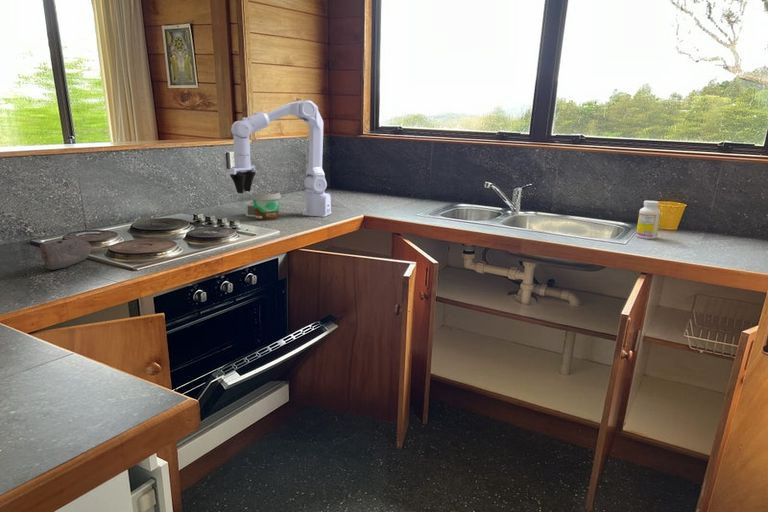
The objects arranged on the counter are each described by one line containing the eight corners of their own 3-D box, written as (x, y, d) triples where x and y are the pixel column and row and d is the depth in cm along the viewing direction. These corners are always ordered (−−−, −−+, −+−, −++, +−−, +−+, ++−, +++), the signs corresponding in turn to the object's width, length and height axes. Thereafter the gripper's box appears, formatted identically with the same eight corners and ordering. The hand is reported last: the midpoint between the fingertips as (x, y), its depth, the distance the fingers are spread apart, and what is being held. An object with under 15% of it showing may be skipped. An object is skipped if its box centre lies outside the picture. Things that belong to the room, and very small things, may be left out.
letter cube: (264, 215, 207) (263, 202, 206) (257, 217, 203) (257, 204, 201) (252, 214, 209) (251, 201, 207) (245, 216, 204) (245, 203, 202)
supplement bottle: (645, 234, 190) (651, 199, 186) (660, 238, 184) (666, 202, 180) (631, 235, 187) (636, 200, 184) (646, 240, 181) (652, 203, 178)
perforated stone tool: (84, 257, 143) (81, 232, 141) (100, 259, 142) (97, 234, 140) (34, 272, 129) (30, 244, 127) (51, 274, 128) (47, 247, 126)
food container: (263, 222, 193) (262, 195, 190) (252, 220, 196) (251, 193, 194) (288, 218, 202) (287, 192, 200) (277, 215, 206) (276, 190, 203)
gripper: (242, 153, 198) (244, 188, 202) (221, 155, 185) (223, 194, 188) (259, 153, 196) (260, 190, 200) (239, 156, 183) (240, 195, 187)
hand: (243, 192), depth 194 cm, fingers open, 4 cm apart
